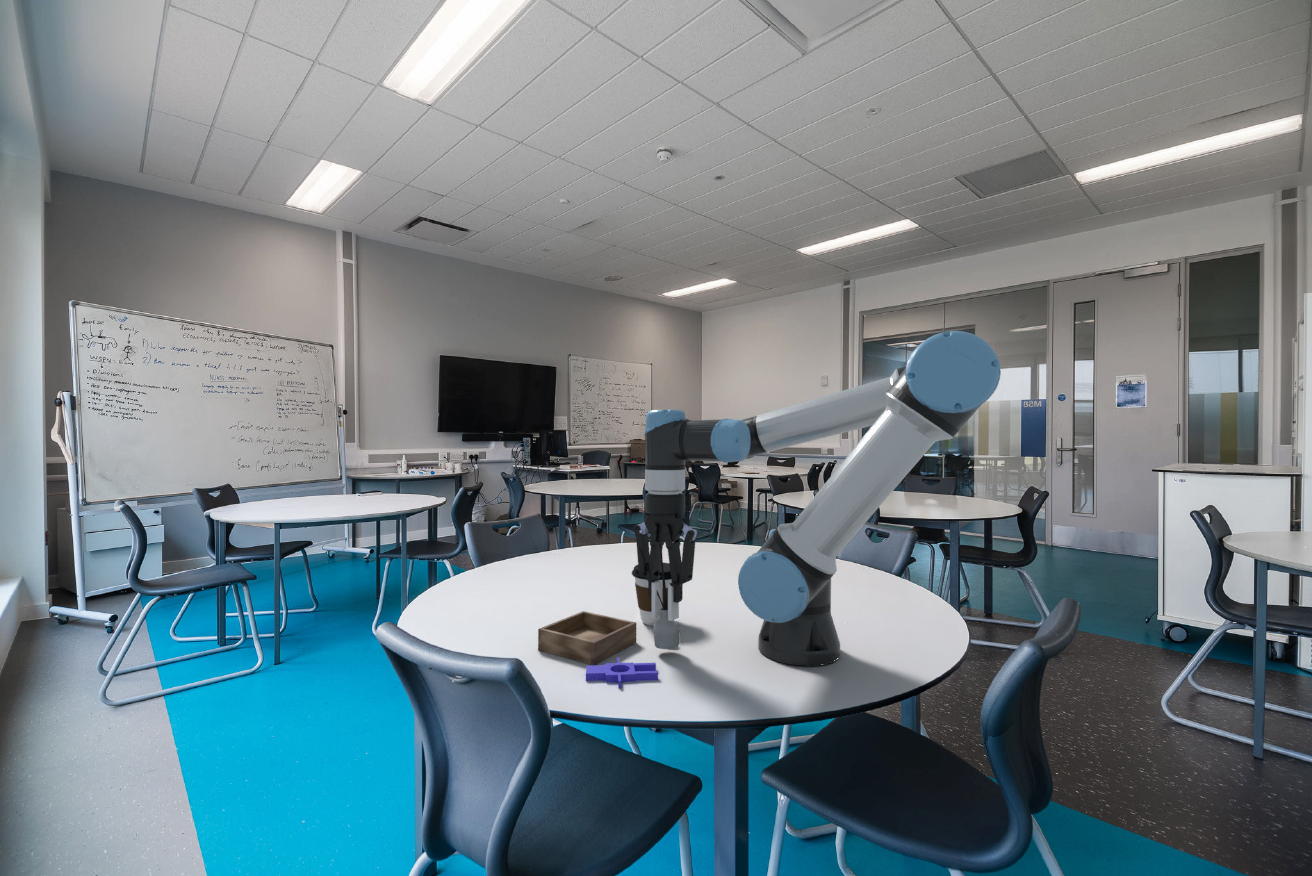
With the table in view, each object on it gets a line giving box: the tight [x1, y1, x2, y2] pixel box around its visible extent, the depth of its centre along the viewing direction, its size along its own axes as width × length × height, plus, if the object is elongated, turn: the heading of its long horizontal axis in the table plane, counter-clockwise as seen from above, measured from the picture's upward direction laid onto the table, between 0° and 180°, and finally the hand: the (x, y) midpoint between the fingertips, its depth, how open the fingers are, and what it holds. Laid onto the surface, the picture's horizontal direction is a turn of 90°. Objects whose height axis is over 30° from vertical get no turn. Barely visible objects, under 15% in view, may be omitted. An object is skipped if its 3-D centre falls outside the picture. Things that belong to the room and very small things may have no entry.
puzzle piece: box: [585, 656, 659, 689], centre depth 97 cm, size 10×12×2 cm
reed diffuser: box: [639, 543, 681, 650], centre depth 108 cm, size 10×7×20 cm
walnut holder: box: [537, 610, 637, 666], centre depth 111 cm, size 13×13×4 cm
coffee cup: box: [631, 561, 672, 627], centre depth 126 cm, size 11×11×12 cm
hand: (665, 617), depth 107 cm, fingers closed on reed diffuser, 3 cm apart
